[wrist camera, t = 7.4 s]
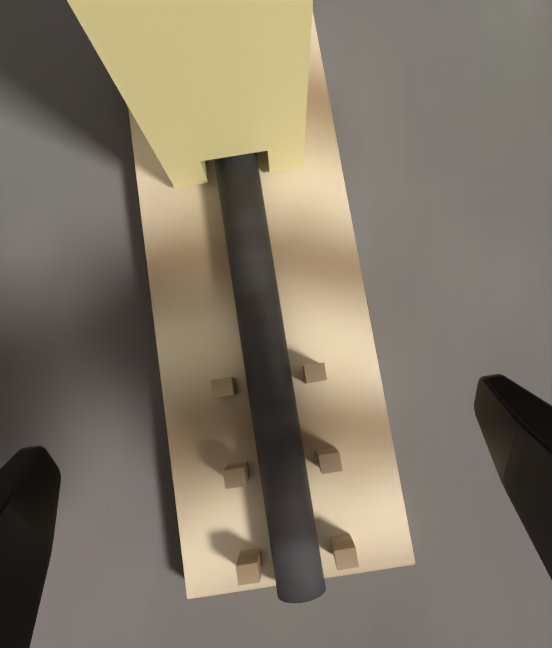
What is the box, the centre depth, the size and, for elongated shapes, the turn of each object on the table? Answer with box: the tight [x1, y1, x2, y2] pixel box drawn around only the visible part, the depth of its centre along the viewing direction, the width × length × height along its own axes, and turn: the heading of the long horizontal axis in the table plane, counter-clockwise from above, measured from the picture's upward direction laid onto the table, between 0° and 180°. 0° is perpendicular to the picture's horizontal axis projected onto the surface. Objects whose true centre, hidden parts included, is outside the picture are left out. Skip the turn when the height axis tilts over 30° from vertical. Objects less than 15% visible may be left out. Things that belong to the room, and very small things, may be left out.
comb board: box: [128, 11, 415, 603], centre depth 17 cm, size 22×8×4 cm, turn 9°
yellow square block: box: [67, 0, 313, 188], centre depth 14 cm, size 5×5×10 cm
